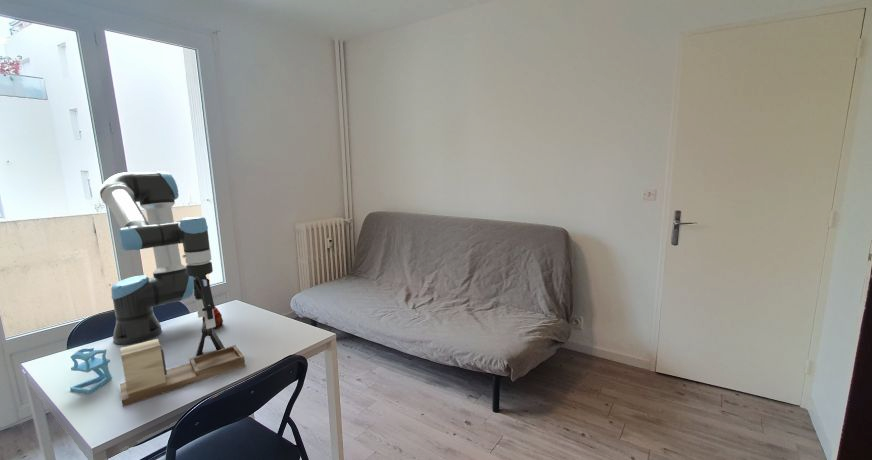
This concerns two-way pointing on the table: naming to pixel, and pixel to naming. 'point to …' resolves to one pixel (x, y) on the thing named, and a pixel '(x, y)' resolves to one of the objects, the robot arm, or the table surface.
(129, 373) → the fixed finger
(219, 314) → the red clay folk toy
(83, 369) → the chair
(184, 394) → the table surface
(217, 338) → the dark grey a-frame stand
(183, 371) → the wooden desk organizer
